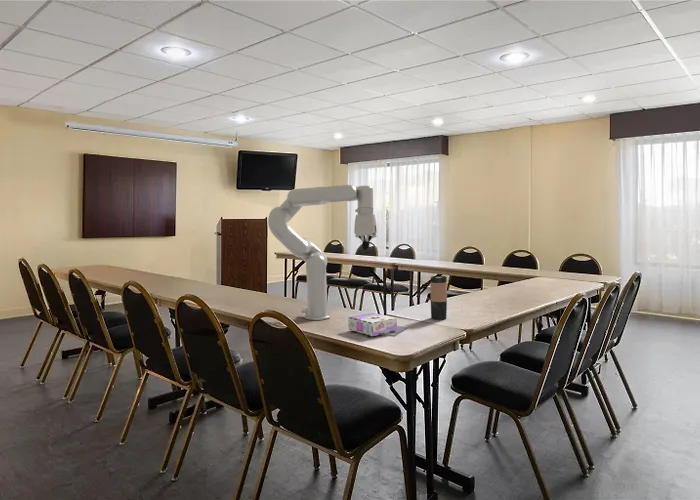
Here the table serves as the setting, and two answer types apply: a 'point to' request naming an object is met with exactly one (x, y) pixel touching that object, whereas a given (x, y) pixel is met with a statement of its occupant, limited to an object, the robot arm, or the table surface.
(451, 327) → the table surface
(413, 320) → the table surface
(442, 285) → the travel mug
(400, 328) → the mat
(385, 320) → the candy box
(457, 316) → the table surface
